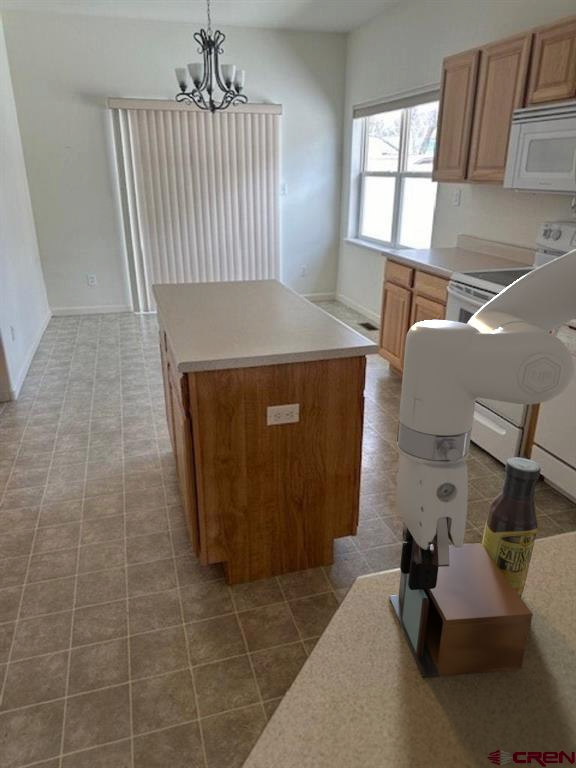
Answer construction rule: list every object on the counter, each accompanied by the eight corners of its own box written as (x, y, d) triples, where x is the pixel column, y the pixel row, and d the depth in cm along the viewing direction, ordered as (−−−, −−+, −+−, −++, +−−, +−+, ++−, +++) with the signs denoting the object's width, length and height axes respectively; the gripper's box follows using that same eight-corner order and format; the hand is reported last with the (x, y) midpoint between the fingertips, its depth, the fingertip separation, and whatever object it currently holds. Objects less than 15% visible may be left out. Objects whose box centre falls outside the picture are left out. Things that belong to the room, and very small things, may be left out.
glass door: (410, 616, 69) (420, 522, 64) (428, 656, 63) (441, 556, 58) (395, 617, 69) (404, 523, 64) (412, 658, 63) (423, 557, 58)
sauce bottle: (491, 612, 70) (514, 479, 64) (465, 581, 76) (483, 456, 69) (533, 603, 72) (560, 472, 65) (504, 573, 78) (526, 450, 71)
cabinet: (472, 591, 74) (480, 542, 71) (521, 669, 62) (532, 613, 59) (388, 597, 73) (393, 548, 70) (421, 677, 60) (428, 621, 58)
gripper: (503, 471, 50) (478, 627, 56) (438, 408, 65) (424, 537, 71) (426, 475, 49) (409, 633, 55) (378, 410, 64) (369, 540, 70)
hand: (417, 578), depth 63 cm, fingers closed on glass door, 2 cm apart
